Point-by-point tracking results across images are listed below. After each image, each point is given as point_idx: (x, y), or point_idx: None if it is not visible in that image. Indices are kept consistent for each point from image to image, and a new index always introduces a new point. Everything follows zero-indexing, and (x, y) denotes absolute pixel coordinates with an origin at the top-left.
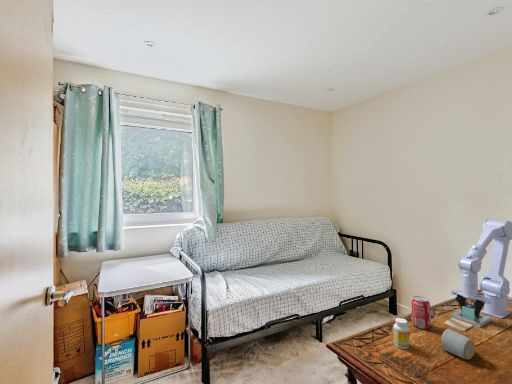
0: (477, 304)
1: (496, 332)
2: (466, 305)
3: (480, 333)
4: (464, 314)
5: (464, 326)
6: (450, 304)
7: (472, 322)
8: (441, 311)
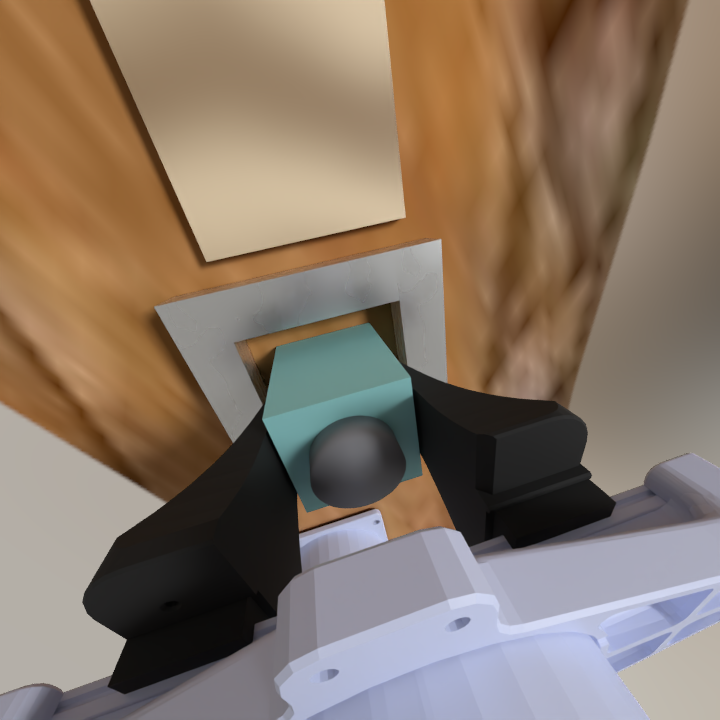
0: (141, 539)
1: (47, 351)
2: (381, 431)
3: (5, 144)
4: (358, 343)
5: (185, 103)
6: None
7: (227, 286)
8: (527, 282)
